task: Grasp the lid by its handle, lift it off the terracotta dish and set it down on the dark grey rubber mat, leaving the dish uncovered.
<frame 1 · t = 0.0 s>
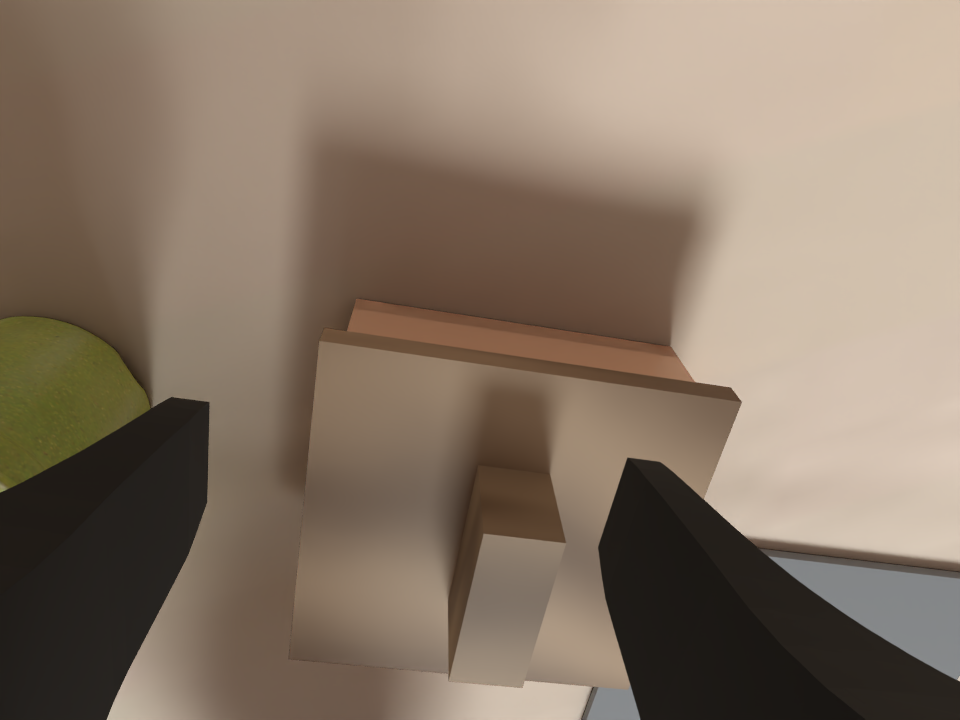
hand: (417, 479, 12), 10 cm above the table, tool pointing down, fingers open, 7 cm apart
plant pot: (57, 396, 23), on the table
lid: (494, 523, 21), point 3 cm above the table, touching dish
mat: (767, 693, 30), on the table
dish: (487, 456, 24), on the table
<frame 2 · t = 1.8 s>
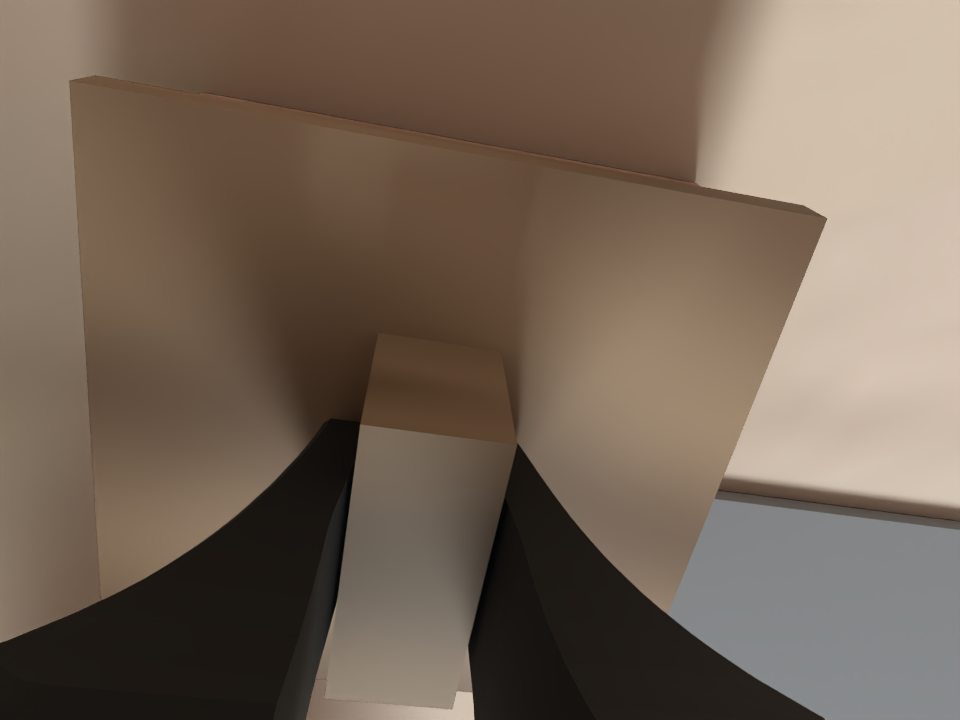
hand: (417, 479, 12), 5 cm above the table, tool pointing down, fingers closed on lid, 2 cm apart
lid: (418, 444, 13), point 3 cm above the table, touching dish, gripper
mat: (817, 705, 22), on the table
dish: (423, 360, 16), on the table
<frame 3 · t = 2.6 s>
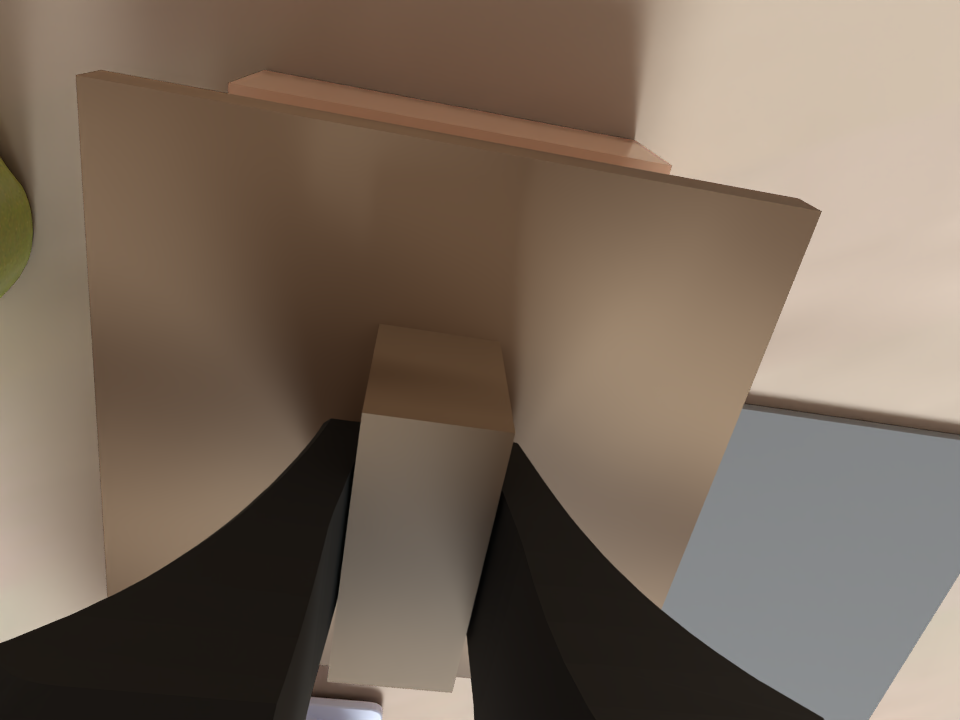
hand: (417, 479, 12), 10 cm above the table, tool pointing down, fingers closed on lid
lid: (419, 433, 13), point 9 cm above the table, touching gripper
mat: (752, 583, 27), on the table
dish: (427, 281, 21), on the table
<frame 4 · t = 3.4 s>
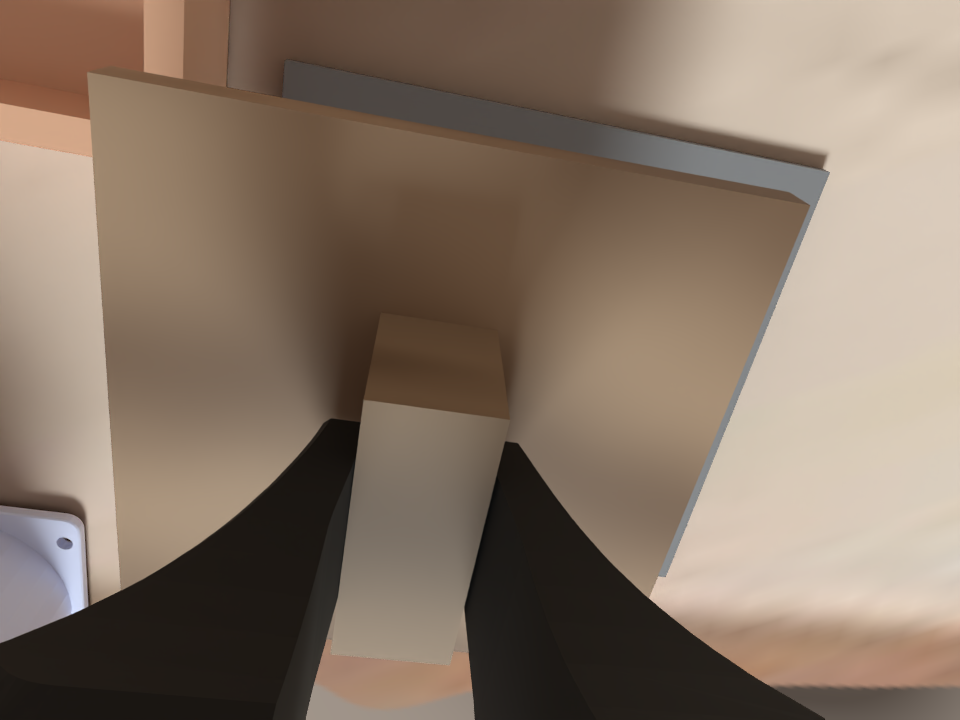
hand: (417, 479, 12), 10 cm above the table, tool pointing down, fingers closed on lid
lid: (419, 418, 14), point 8 cm above the table, touching gripper
mat: (509, 361, 22), on the table
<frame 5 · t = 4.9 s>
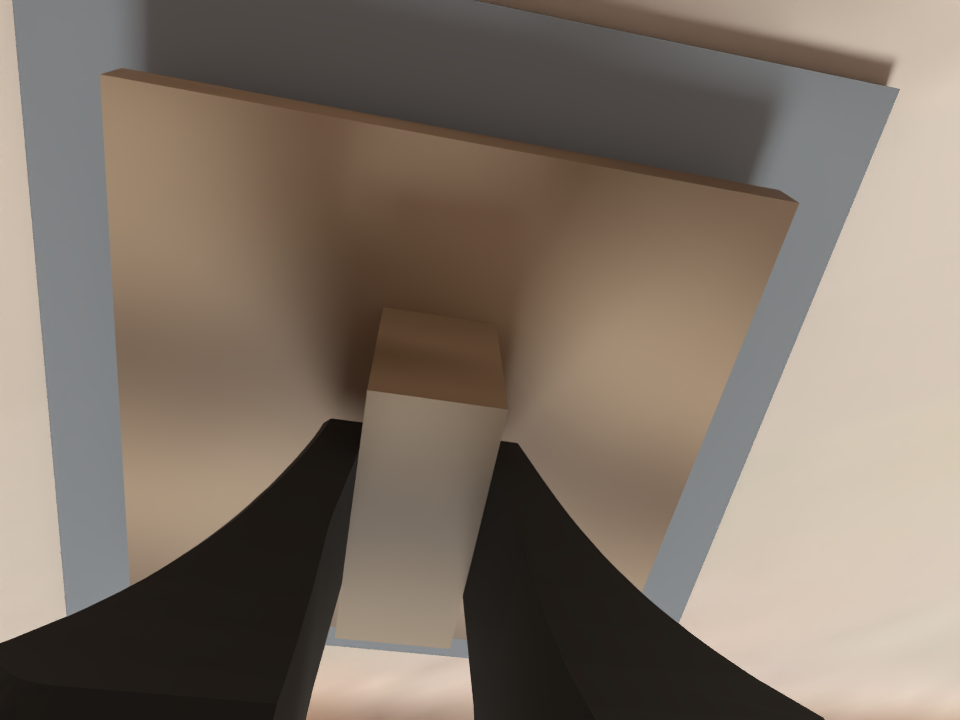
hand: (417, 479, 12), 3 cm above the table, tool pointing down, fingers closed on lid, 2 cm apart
lid: (420, 410, 14), point 1 cm above the table, touching gripper
mat: (421, 386, 15), on the table
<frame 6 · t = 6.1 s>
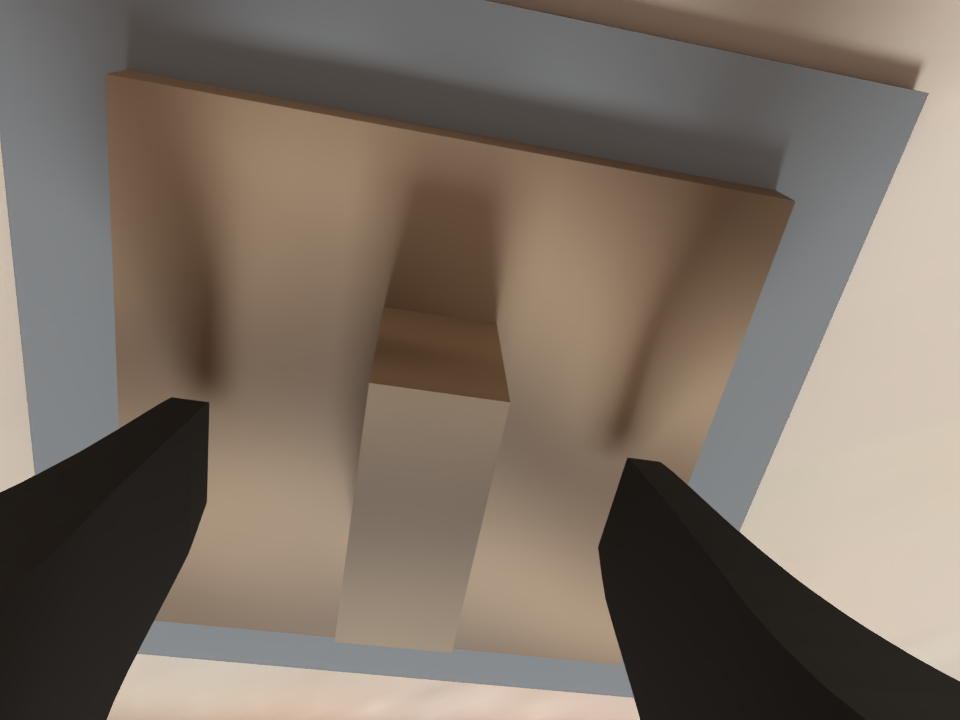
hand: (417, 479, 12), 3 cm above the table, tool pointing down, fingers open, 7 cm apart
lid: (420, 413, 14), resting on mat
mat: (421, 403, 15), on the table
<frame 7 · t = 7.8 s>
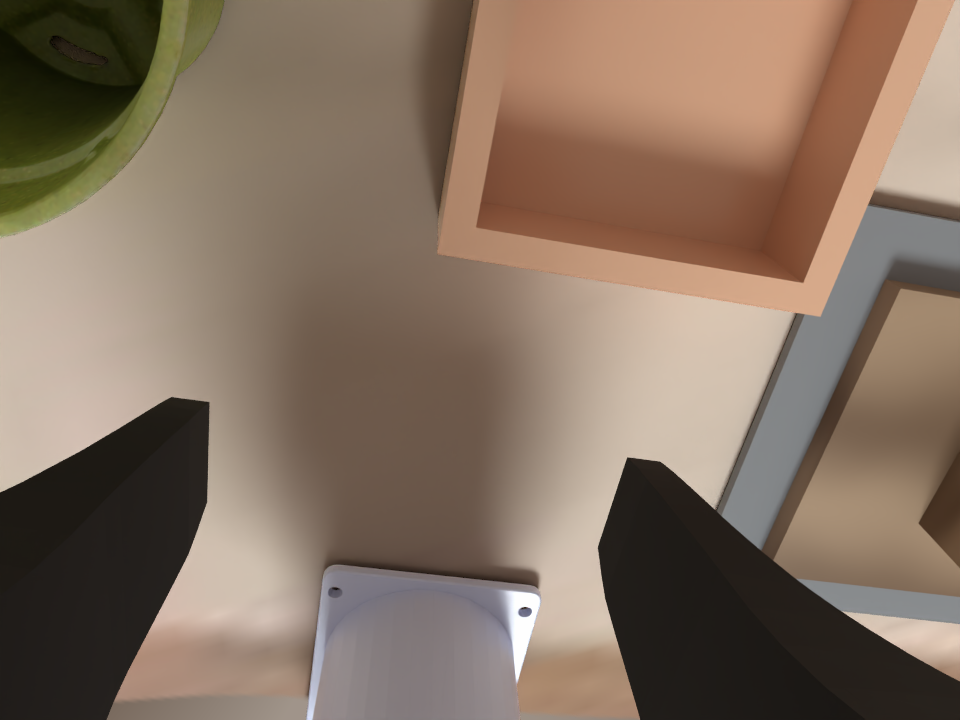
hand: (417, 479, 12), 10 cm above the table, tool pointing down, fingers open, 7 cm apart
mat: (955, 447, 25), on the table
dish: (655, 63, 19), on the table
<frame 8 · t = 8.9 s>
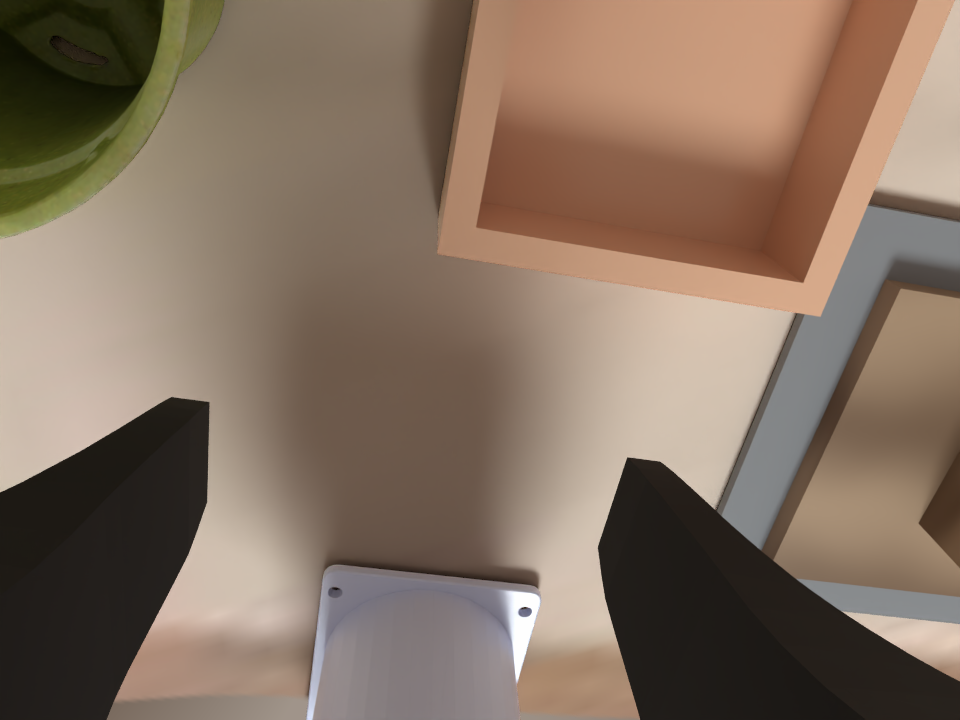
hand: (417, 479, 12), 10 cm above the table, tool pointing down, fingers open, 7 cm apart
mat: (955, 447, 25), on the table
dish: (655, 63, 19), on the table
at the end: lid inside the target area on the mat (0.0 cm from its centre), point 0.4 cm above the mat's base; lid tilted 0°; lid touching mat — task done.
